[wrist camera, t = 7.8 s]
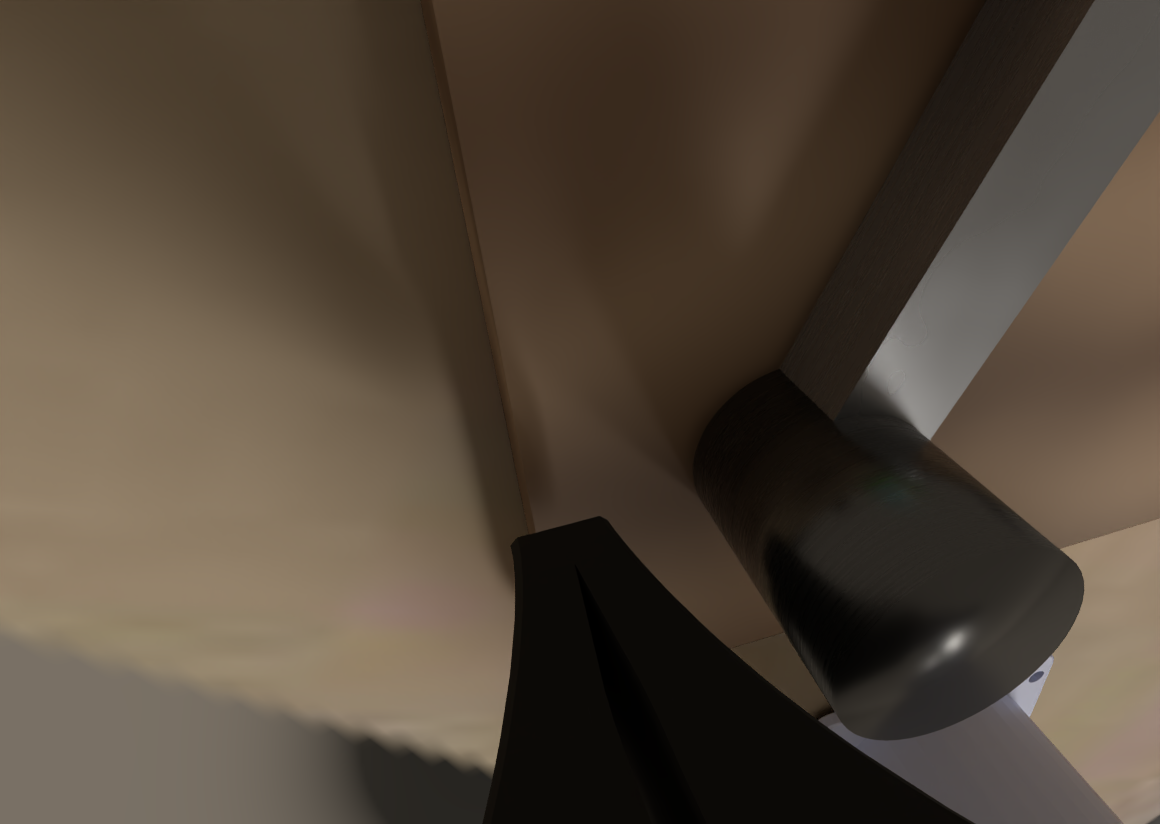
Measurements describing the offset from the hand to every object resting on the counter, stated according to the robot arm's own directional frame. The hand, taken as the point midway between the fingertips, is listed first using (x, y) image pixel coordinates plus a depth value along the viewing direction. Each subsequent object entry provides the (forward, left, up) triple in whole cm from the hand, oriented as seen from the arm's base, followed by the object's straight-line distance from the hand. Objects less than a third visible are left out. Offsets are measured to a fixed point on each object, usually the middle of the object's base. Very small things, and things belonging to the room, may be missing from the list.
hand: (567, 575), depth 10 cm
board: (+6, -10, -3) cm, 12 cm away
